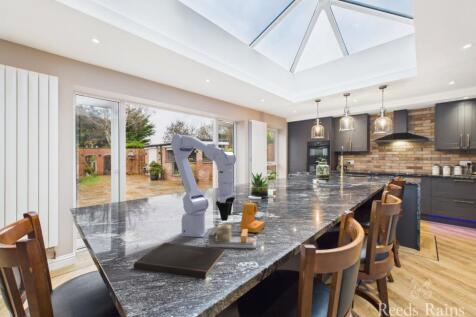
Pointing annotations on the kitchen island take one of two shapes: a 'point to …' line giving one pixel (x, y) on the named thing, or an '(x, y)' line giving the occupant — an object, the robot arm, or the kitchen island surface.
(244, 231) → the sliding jaw
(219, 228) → the maple block
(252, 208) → the bracket
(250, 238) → the vise base
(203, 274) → the dark brown flat slab
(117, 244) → the kitchen island surface
